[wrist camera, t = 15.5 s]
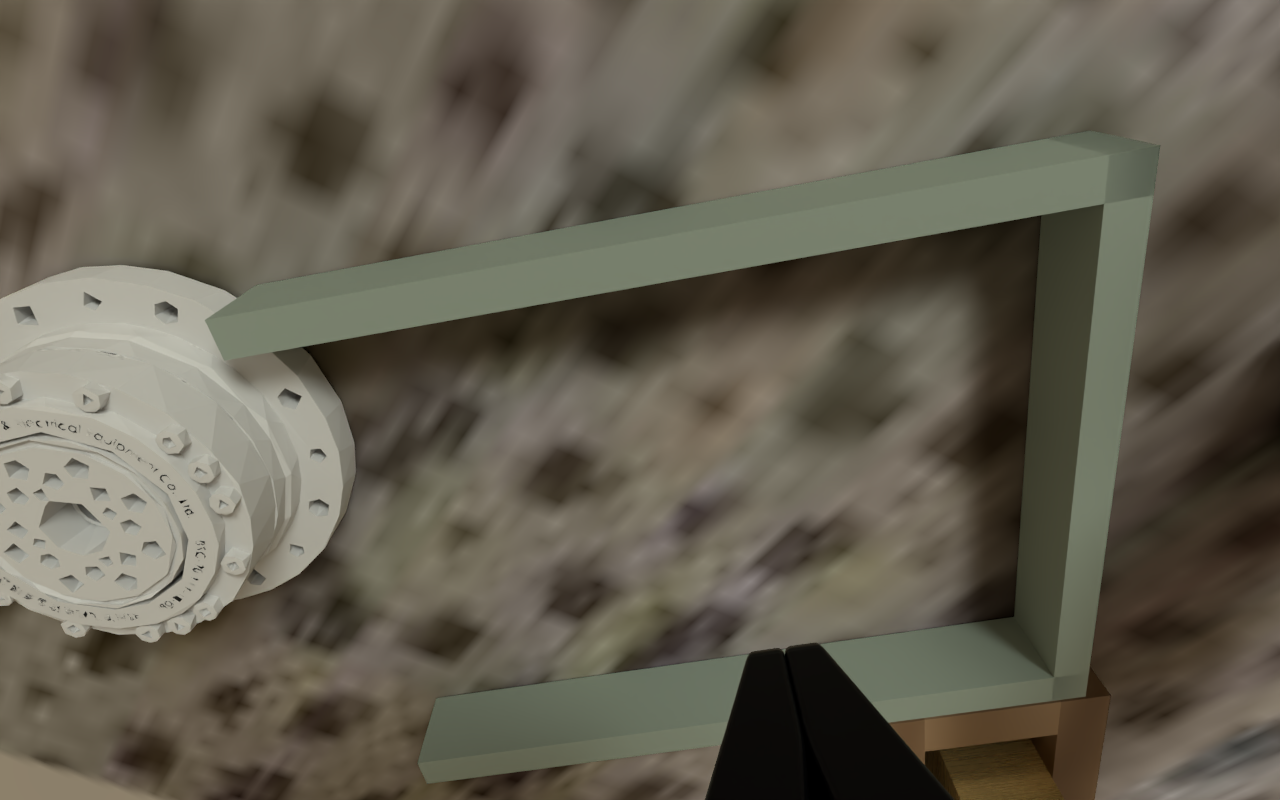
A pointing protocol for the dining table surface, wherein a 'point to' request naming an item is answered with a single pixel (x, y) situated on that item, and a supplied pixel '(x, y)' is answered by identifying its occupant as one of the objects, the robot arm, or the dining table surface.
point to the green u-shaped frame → (768, 233)
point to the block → (993, 772)
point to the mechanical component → (155, 455)
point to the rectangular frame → (1029, 735)
